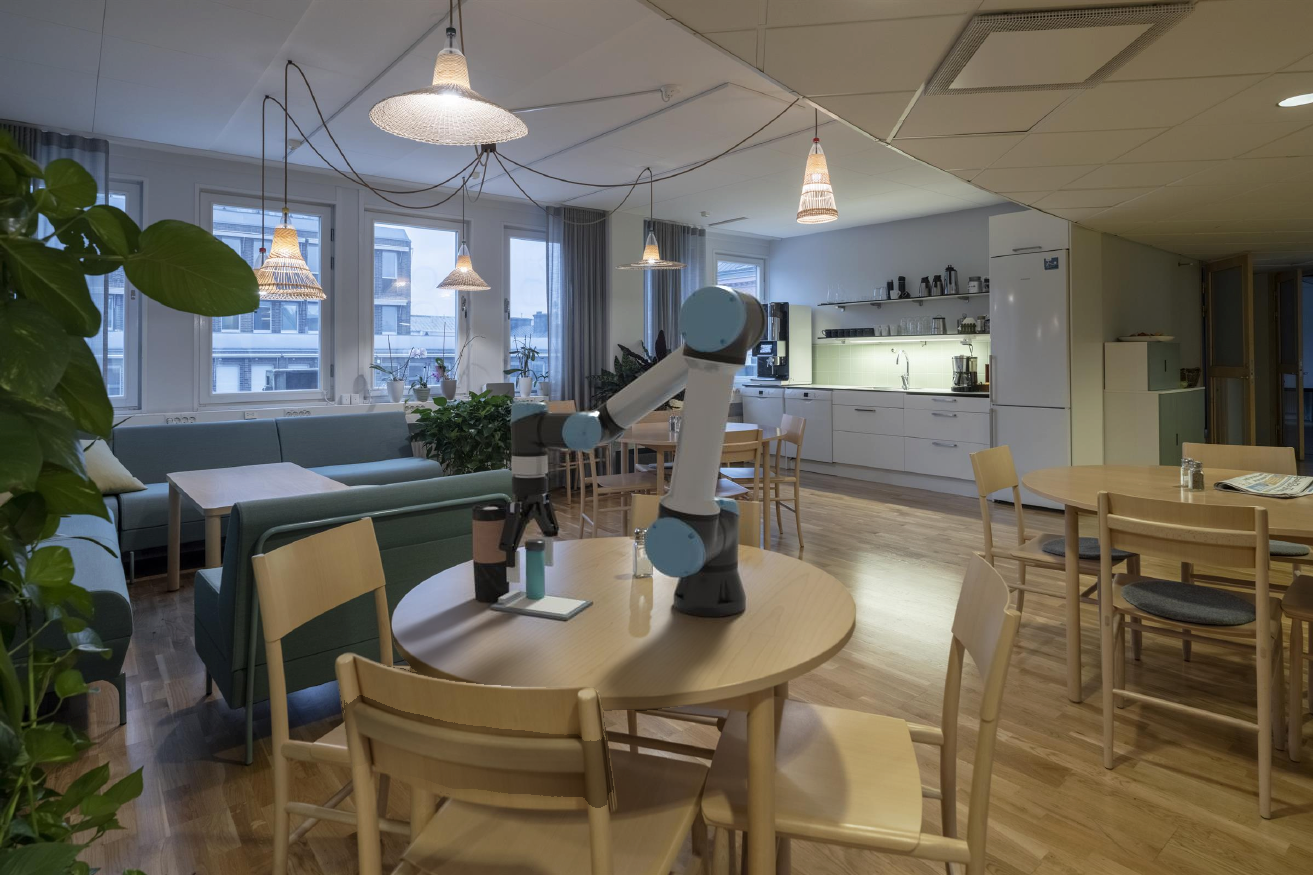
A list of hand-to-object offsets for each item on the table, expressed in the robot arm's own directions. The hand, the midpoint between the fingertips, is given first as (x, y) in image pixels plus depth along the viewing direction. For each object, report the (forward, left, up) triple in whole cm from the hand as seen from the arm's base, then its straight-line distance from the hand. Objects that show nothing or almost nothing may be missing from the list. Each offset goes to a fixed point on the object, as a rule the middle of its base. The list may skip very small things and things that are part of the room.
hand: (531, 573), depth 157 cm
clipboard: (-4, +3, -6) cm, 8 cm away
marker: (-1, 0, -5) cm, 5 cm away
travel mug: (+8, +2, -6) cm, 10 cm away
